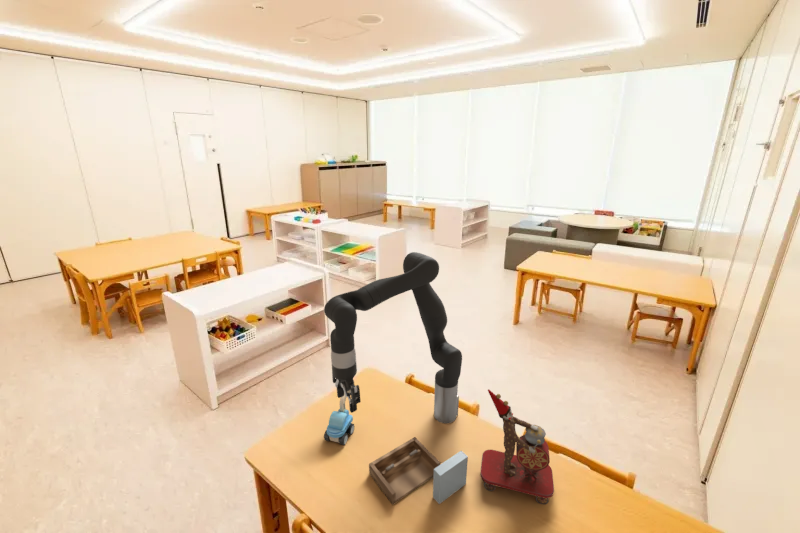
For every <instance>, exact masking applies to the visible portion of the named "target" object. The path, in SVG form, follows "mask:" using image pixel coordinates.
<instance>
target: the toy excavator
mask: <svg viewBox="0 0 800 533" xmlns="http://www.w3.org/2000/svg"><path fill="white" fill-rule="evenodd" d="M347 392H348V393H350V390H349V391H347ZM339 399H340V400H339V409H338V410H333V411H332V412H331V414H330V417H329V420H328V425H327V427H326V430H325V432H324V434H323V440H324V441H326V442H330V441H332V442H335V443H338V444H339V445H343V446H346V443H347V441H348V439H349V435H353V433H354V431H355V423H353V420H354V418H353V417H354V416H353V415H352V414H350V410H349V409H346V401H347V399H348V397H346V396H345V393H344V396H342V397H340V398H339Z"/></svg>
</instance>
